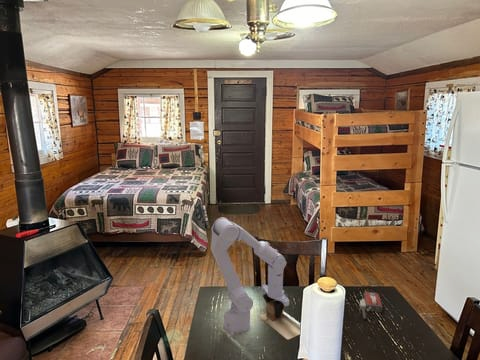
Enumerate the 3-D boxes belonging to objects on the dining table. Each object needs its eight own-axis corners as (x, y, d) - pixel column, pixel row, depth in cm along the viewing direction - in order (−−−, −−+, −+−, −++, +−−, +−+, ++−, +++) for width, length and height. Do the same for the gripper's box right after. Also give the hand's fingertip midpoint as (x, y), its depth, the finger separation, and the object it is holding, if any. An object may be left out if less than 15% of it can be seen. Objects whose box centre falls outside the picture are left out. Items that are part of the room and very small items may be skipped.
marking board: (287, 343, 126) (287, 335, 126) (257, 318, 141) (257, 311, 140) (306, 334, 131) (306, 327, 130) (275, 311, 146) (275, 304, 145)
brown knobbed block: (269, 322, 136) (269, 308, 135) (263, 317, 139) (263, 303, 138) (285, 316, 140) (286, 302, 139) (279, 311, 143) (279, 297, 142)
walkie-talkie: (357, 295, 159) (361, 321, 140) (358, 286, 158) (362, 311, 139) (378, 298, 157) (385, 324, 138) (379, 289, 156) (386, 314, 137)
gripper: (295, 287, 133) (294, 319, 136) (271, 272, 145) (271, 302, 148) (281, 292, 129) (280, 326, 132) (257, 276, 141) (257, 308, 144)
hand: (274, 314), depth 139 cm, fingers closed on brown knobbed block, 4 cm apart
